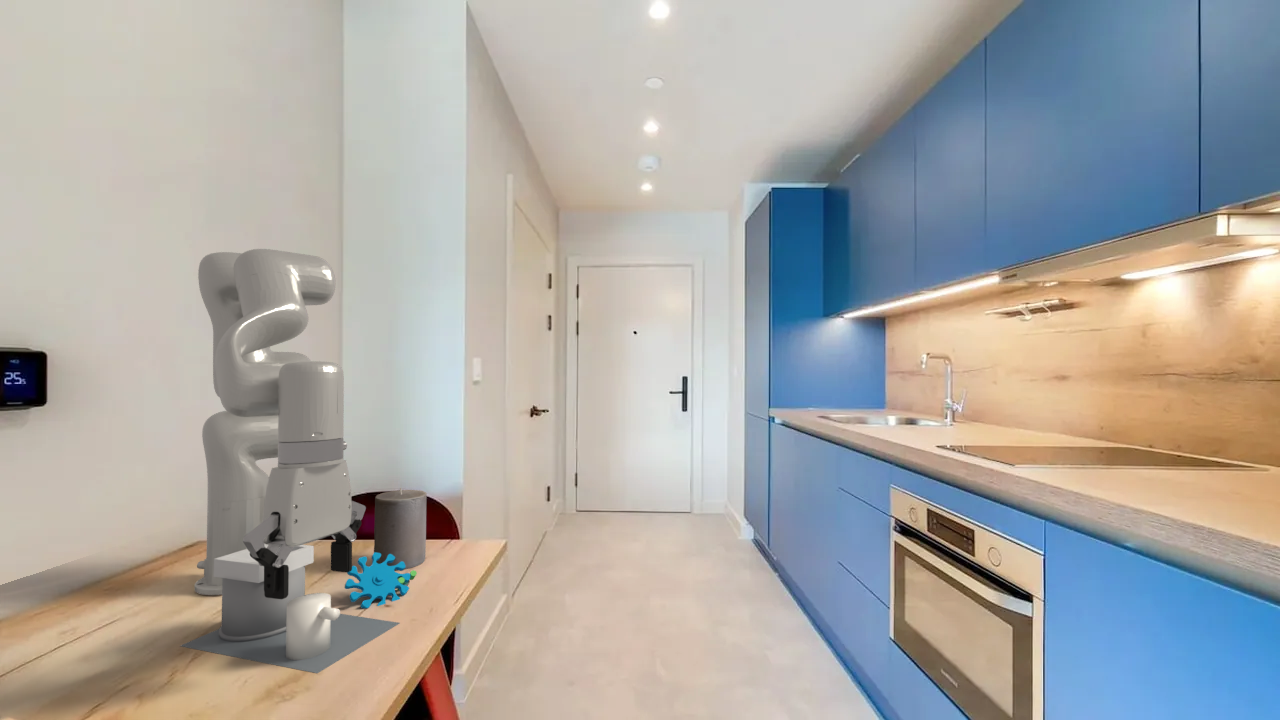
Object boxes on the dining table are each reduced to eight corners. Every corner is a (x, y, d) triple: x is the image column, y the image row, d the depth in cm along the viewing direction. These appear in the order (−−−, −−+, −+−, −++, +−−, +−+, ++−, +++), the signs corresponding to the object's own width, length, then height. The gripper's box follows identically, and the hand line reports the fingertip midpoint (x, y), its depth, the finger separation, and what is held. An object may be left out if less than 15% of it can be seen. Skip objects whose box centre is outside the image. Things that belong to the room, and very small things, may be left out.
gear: (348, 611, 81) (345, 552, 88) (337, 630, 84) (335, 571, 90) (422, 601, 88) (414, 547, 95) (410, 619, 91) (403, 565, 97)
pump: (276, 656, 69) (277, 605, 69) (310, 638, 74) (311, 591, 74) (318, 664, 67) (319, 612, 67) (350, 645, 72) (351, 596, 72)
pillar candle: (362, 567, 105) (363, 490, 106) (401, 552, 114) (402, 481, 115) (399, 574, 101) (400, 495, 102) (436, 558, 110) (437, 485, 111)
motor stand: (178, 652, 72) (180, 567, 73) (275, 610, 86) (276, 537, 86) (317, 681, 65) (318, 586, 66) (400, 629, 79) (400, 550, 79)
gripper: (342, 446, 81) (342, 561, 80) (224, 462, 65) (222, 607, 64) (382, 446, 79) (383, 564, 78) (271, 463, 62) (269, 613, 61)
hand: (310, 583), depth 71 cm, fingers open, 9 cm apart
